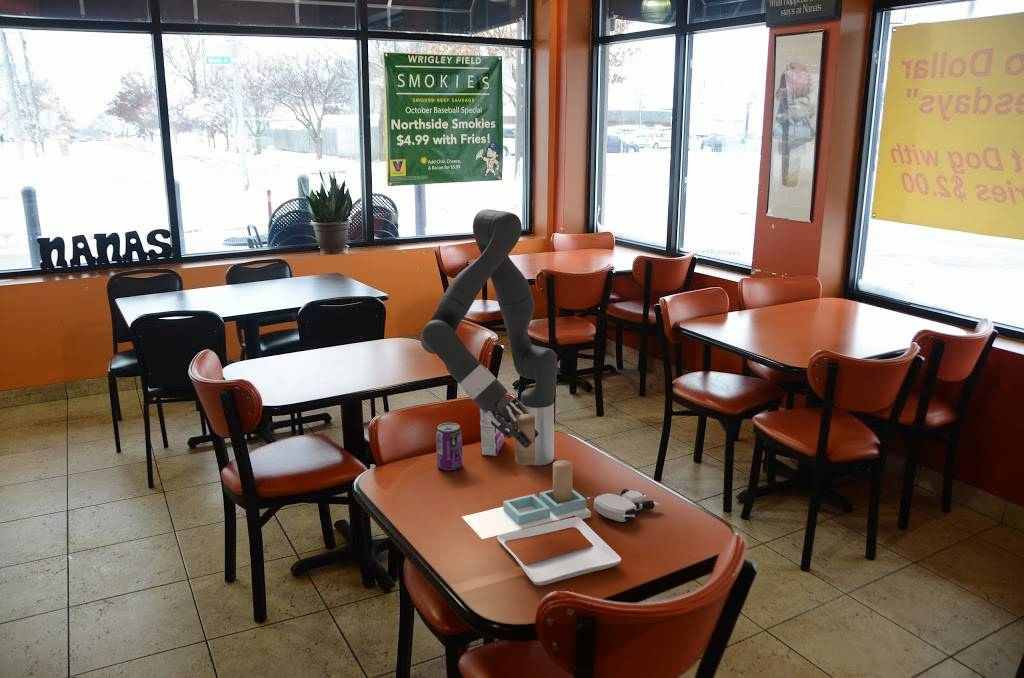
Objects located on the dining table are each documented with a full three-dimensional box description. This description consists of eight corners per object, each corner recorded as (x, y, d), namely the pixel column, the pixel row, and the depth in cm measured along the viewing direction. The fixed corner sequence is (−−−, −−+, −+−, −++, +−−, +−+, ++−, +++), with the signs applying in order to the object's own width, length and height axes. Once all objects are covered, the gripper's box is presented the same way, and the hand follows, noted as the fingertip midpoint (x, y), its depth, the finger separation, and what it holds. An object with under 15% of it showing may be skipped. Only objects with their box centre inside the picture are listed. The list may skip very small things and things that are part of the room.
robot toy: (625, 498, 210) (583, 512, 200) (626, 482, 209) (585, 495, 199) (662, 515, 201) (620, 531, 191) (663, 498, 200) (622, 513, 190)
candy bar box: (488, 440, 245) (487, 389, 241) (505, 441, 244) (504, 390, 240) (480, 455, 235) (478, 402, 230) (496, 456, 234) (496, 403, 229)
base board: (461, 522, 197) (460, 474, 193) (566, 496, 209) (566, 451, 206) (482, 545, 186) (481, 495, 183) (590, 516, 199) (591, 469, 195)
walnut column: (511, 459, 195) (510, 416, 191) (529, 455, 197) (529, 412, 193) (520, 466, 190) (520, 422, 187) (538, 462, 192) (538, 419, 189)
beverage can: (461, 472, 224) (460, 431, 221) (436, 472, 224) (434, 431, 221) (463, 461, 231) (462, 421, 228) (438, 461, 231) (437, 422, 228)
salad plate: (534, 596, 167) (534, 581, 166) (495, 547, 186) (495, 534, 185) (623, 573, 175) (624, 558, 174) (577, 528, 194) (578, 515, 193)
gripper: (482, 388, 184) (534, 443, 183) (504, 369, 197) (552, 421, 196) (462, 408, 187) (512, 462, 186) (484, 387, 200) (531, 438, 199)
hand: (532, 440), depth 191 cm, fingers closed on walnut column, 4 cm apart
